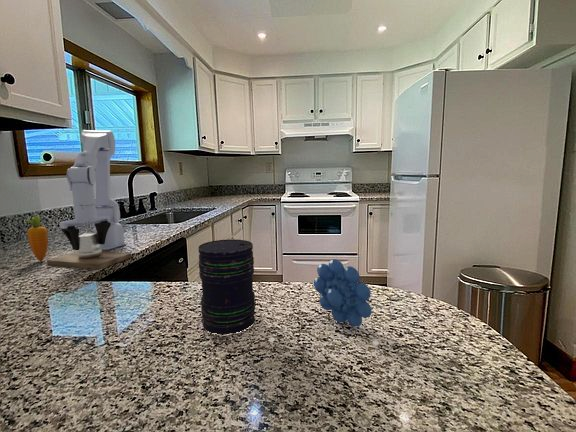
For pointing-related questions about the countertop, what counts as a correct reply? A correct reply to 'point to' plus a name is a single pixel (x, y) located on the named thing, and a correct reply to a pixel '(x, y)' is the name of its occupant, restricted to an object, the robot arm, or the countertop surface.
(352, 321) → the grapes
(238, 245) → the dark blue cylinder
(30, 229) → the carrot
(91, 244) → the cap
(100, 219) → the robot arm
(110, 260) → the lock board
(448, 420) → the countertop surface
